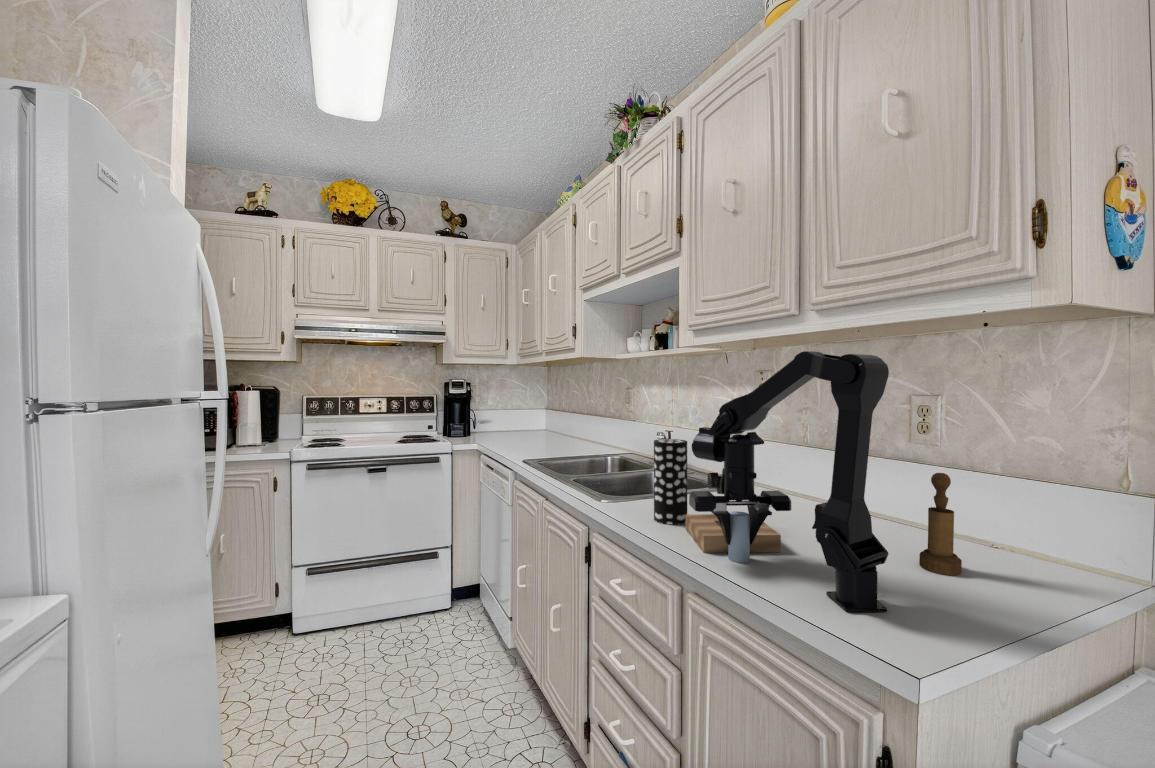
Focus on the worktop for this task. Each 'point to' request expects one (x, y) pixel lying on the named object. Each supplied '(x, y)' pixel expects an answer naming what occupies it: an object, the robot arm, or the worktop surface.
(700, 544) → the socket board
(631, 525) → the worktop surface
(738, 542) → the peg
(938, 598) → the worktop surface
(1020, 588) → the worktop surface
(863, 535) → the robot arm
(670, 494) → the spotted tube
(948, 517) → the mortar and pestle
